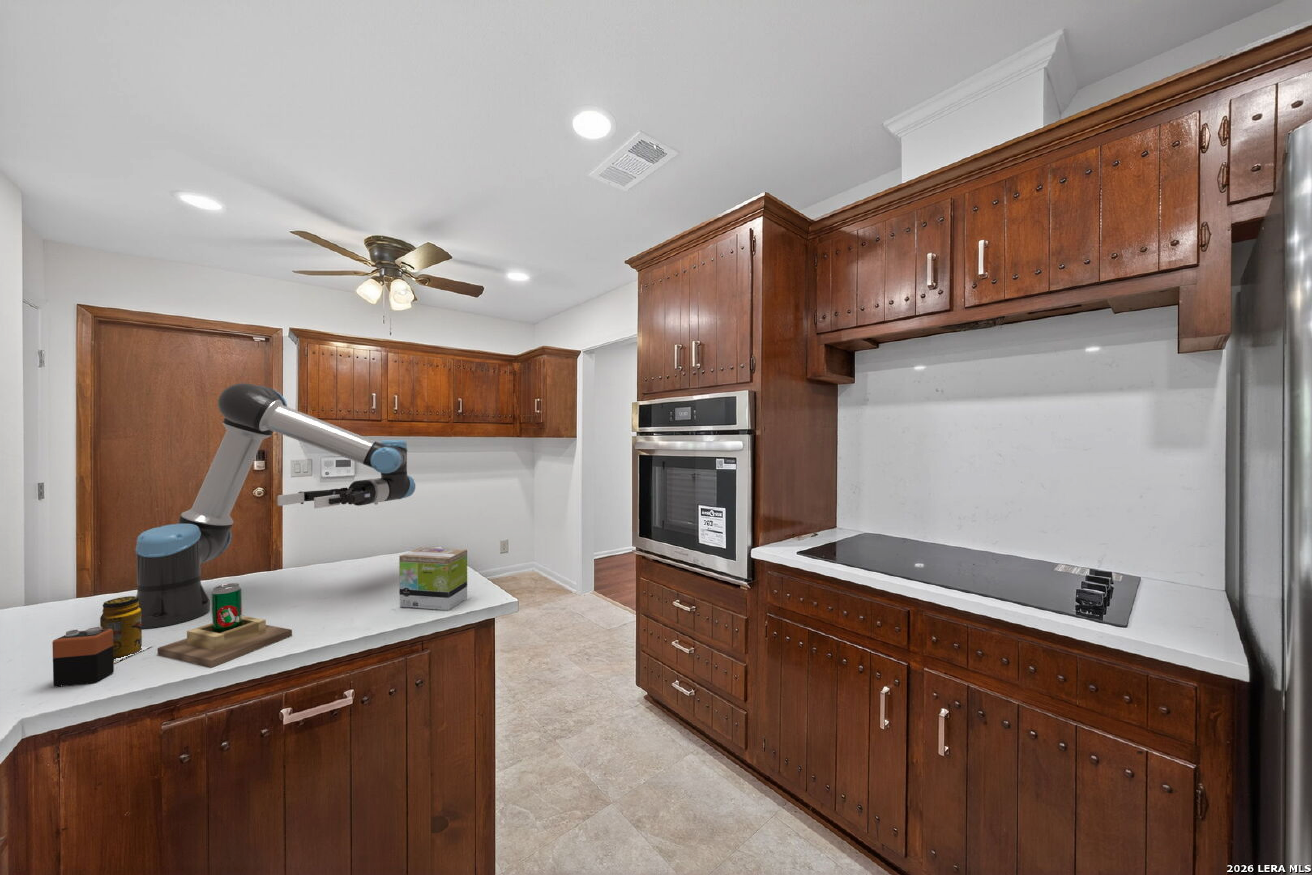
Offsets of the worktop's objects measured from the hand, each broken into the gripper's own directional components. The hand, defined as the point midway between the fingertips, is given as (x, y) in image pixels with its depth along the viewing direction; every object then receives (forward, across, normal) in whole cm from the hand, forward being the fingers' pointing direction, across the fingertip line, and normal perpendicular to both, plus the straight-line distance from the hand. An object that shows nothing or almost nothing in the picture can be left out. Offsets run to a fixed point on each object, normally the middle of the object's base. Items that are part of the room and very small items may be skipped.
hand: (296, 501), depth 126 cm
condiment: (+29, +14, -30) cm, 44 cm away
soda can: (+18, -3, -29) cm, 34 cm away
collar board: (+18, -3, -30) cm, 35 cm away
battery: (+37, +6, -30) cm, 48 cm away
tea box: (-18, -28, -30) cm, 45 cm away
